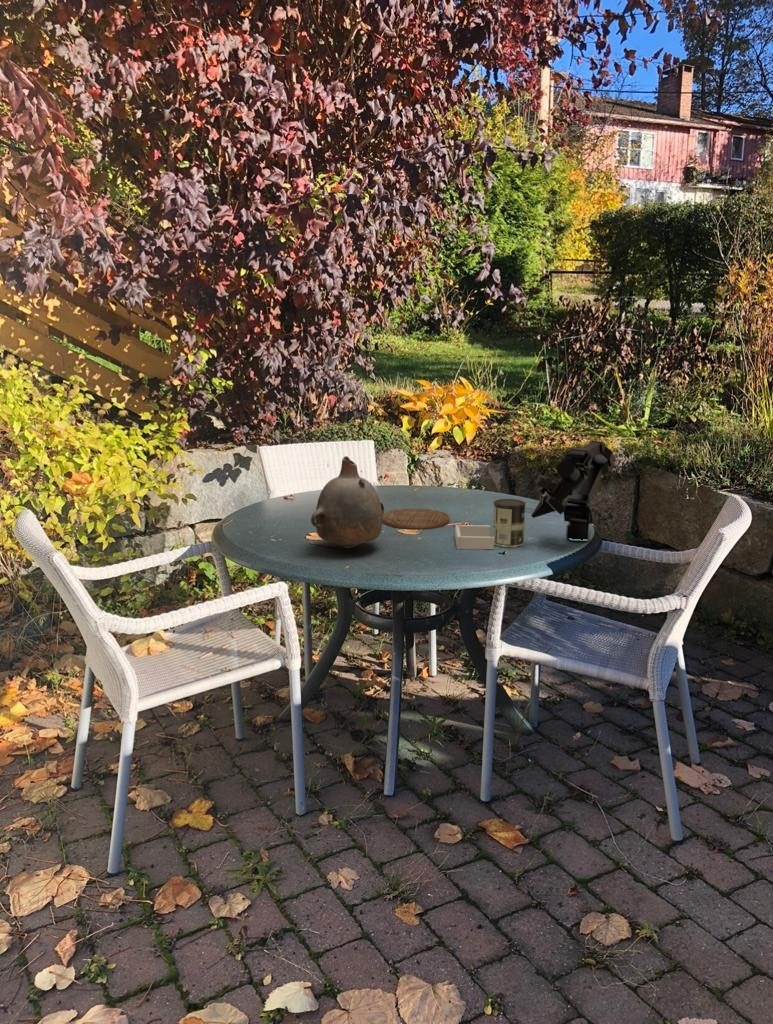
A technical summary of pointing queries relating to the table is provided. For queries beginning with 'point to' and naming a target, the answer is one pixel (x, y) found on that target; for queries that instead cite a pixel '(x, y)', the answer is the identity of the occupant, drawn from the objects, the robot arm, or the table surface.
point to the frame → (473, 537)
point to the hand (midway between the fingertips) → (532, 516)
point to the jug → (348, 509)
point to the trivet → (415, 519)
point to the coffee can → (509, 522)
